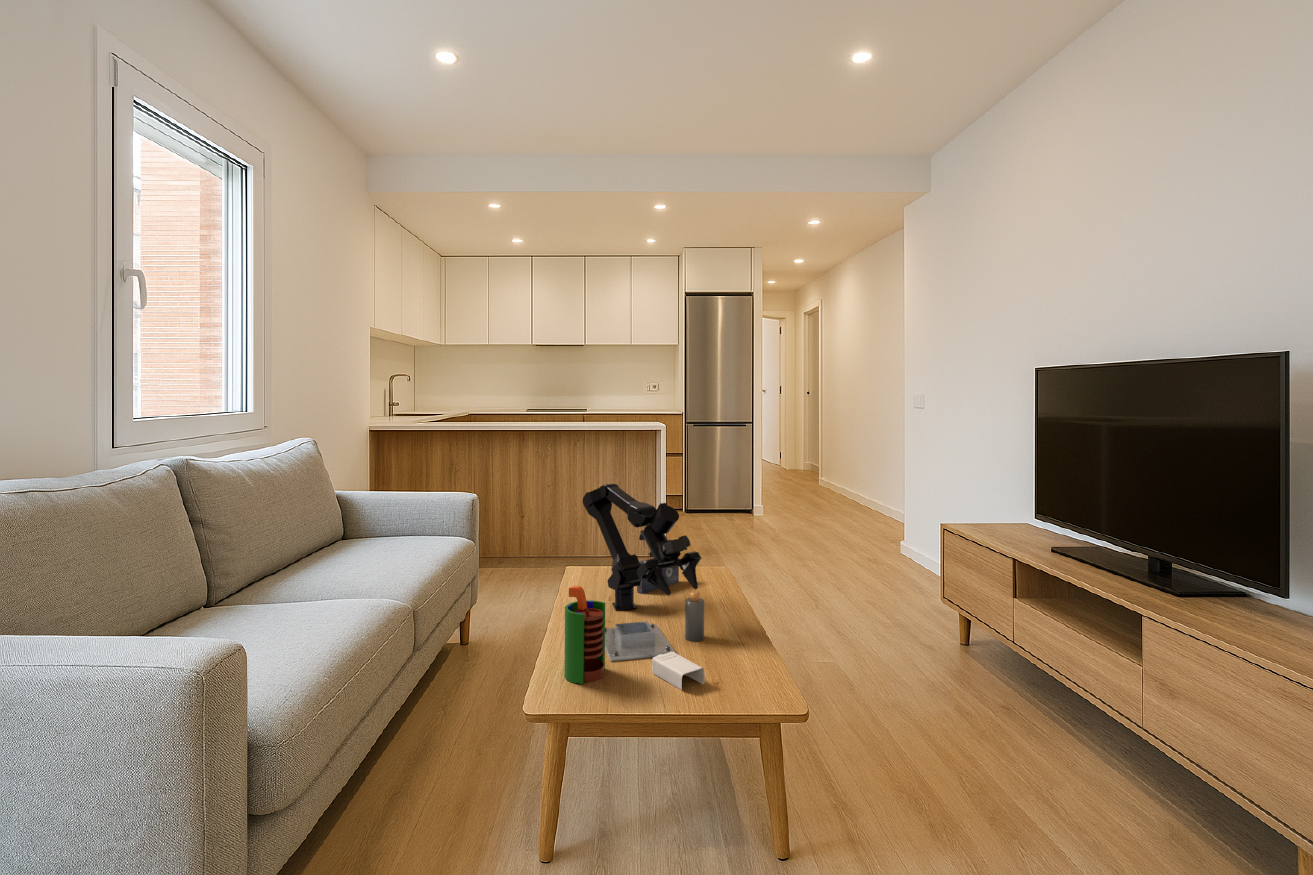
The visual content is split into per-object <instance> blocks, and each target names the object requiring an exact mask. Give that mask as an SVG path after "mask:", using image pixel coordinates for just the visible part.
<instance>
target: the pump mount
mask: <svg viewBox="0 0 1313 875" xmlns="http://www.w3.org/2000/svg"><path fill="white" fill-rule="evenodd" d="M669 652H675V653H676V651H675V649H674V648H673V646H672V645H671V643H670V641H669V640H668V639H667V638H666V637H665V635H664V633H663V632H662V630H661V629H660V627H659V626H658V625H657V624H656V623H655V624H654V623H649V622H648V621H637V622H635V621H634V622H624V623H623V622H622V623H615V624H614V627H608V628H607V627H605V653H606V654H607V657H608V659H609V662H620V661H629V660H639V659H650V658H651V659H653V657H656V656H658V655H660V654H662V655H663V654H666V653H669Z"/></svg>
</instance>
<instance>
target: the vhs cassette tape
mask: <svg viewBox="0 0 1313 875" xmlns="http://www.w3.org/2000/svg"><path fill="white" fill-rule="evenodd" d="M677 558H678V559H680V556H678V557H677ZM650 559H651V558H649V559H648V560H650ZM652 559H654V557H653V558H652ZM643 561H644V560H642V561H639V563H640V564H642V563H643ZM679 570H680V567H679V566H678V567H673V568H668V569H663V570H662V575H663V577H664V579H665V581H666V583H667V585H668V587H669V586H673V585H675V584H674V583H676V584H678V583H680V576H679V575H680V573H679V572H680V571H679ZM656 589H657V590H659V589H658V588H657V587H656V586H654V585H652V584H651V583H649V582H645V581H644V579H643V580H641V583H640V586H636V592H637V593H638V594H642V595H643V594H646V593H649V592H653V591H656Z"/></svg>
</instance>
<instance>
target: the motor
mask: <svg viewBox="0 0 1313 875" xmlns="http://www.w3.org/2000/svg"><path fill="white" fill-rule="evenodd" d="M586 596H587V595H586V593H585V590H584V587H582V586H580V585H573V586H570V587H569V588H568V597H569V598H576V600H577V601H573V602H569V603H567V604H566V605H565V607H564V663H563V664H564V670H563V672H564V679H565V678H566V679H567V680H566V679H565V680H566V681H568V682H570V683H573V684H576V683H579V684H578V685H584V683H590V682H595V681H598V680H601V679H602V678H604V675H605V664H606V650H605V628H606V602H604V601H600V600H589V599H587V597H586Z"/></svg>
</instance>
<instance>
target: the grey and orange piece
mask: <svg viewBox="0 0 1313 875" xmlns="http://www.w3.org/2000/svg"><path fill="white" fill-rule="evenodd" d="M689 595H690V596H689V597H688V598H686V599H685V603H684V610H685V611H684V612H685V614H684V640H686V641H689V642H693V643H695V642H696V643H697V642H702V641H704V640H705V600H704V599H703V598H701V597H700V592H698V591H690V593H689Z"/></svg>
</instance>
